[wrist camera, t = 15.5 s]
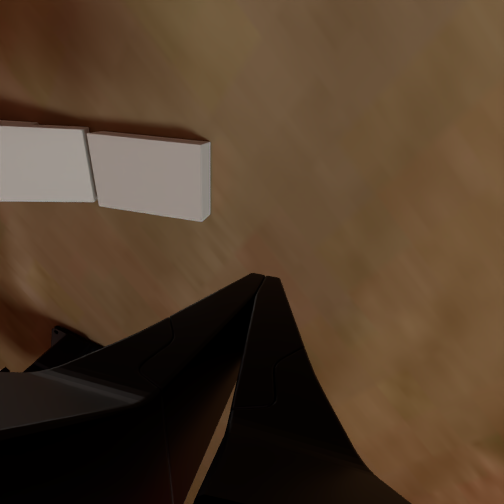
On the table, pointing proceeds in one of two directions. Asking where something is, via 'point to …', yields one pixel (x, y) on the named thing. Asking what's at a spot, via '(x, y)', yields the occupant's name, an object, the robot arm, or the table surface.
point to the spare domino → (151, 174)
